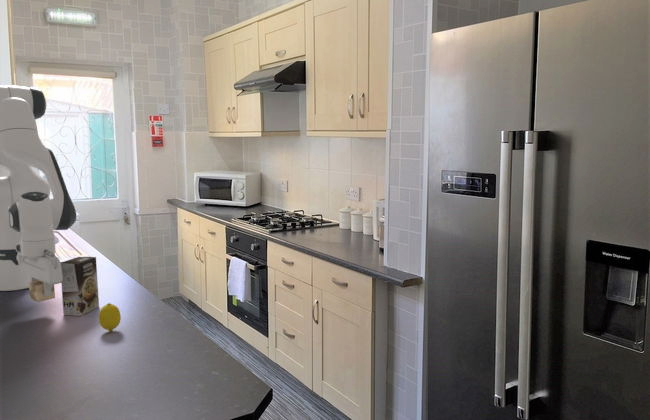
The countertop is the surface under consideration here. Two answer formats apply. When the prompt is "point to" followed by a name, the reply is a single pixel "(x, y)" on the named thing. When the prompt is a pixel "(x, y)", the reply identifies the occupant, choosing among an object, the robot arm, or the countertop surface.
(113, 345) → the countertop surface
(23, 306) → the countertop surface
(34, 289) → the beech cube
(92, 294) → the coffee box
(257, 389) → the countertop surface
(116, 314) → the lemon
